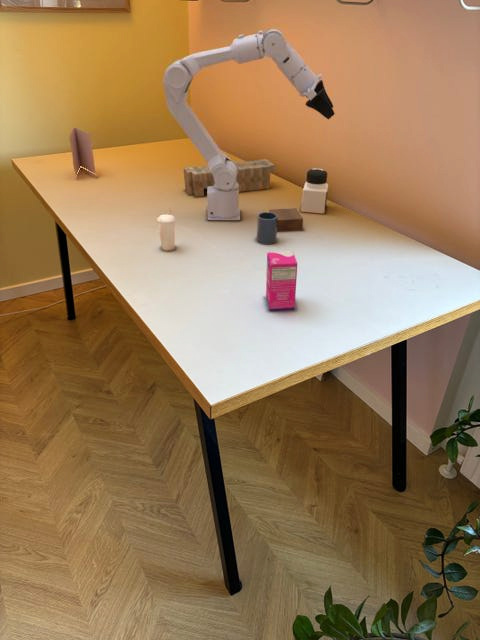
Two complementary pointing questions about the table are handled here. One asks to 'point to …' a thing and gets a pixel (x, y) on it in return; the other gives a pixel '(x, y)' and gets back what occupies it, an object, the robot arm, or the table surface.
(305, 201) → the medicine bottle
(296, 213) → the block
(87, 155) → the greeting card
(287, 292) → the supplement box
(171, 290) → the table surface
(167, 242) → the milkshake
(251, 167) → the block tower
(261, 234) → the cup
